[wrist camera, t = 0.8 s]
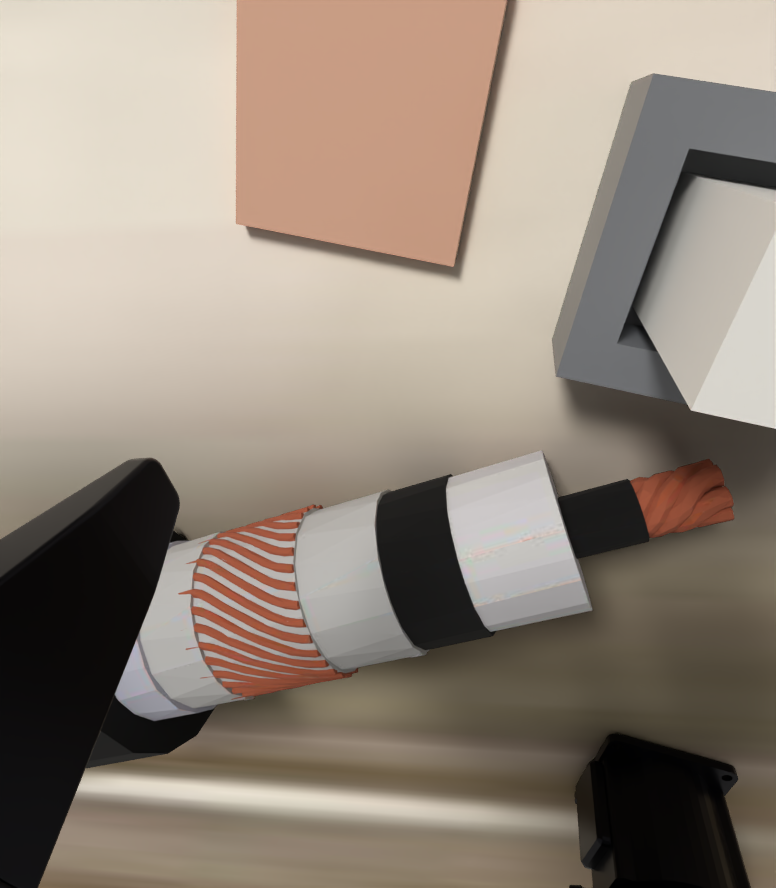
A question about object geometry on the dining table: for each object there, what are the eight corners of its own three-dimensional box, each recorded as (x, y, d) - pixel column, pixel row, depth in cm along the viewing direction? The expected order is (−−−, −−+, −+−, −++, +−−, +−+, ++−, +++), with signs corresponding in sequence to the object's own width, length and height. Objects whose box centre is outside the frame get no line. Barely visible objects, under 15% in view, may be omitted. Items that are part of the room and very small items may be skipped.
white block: (825, 196, 16) (1042, 250, 9) (758, 330, 18) (895, 455, 11) (681, 171, 17) (787, 206, 10) (631, 304, 19) (690, 410, 12)
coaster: (512, -24, 16) (511, -29, 16) (455, 263, 20) (453, 266, 20) (246, -61, 17) (237, -67, 16) (243, 221, 21) (235, 223, 21)
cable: (669, 450, 27) (775, 675, 20) (100, 608, 36) (54, 796, 30) (662, 289, 19) (827, 568, 13) (-57, 541, 28) (-163, 775, 22)
